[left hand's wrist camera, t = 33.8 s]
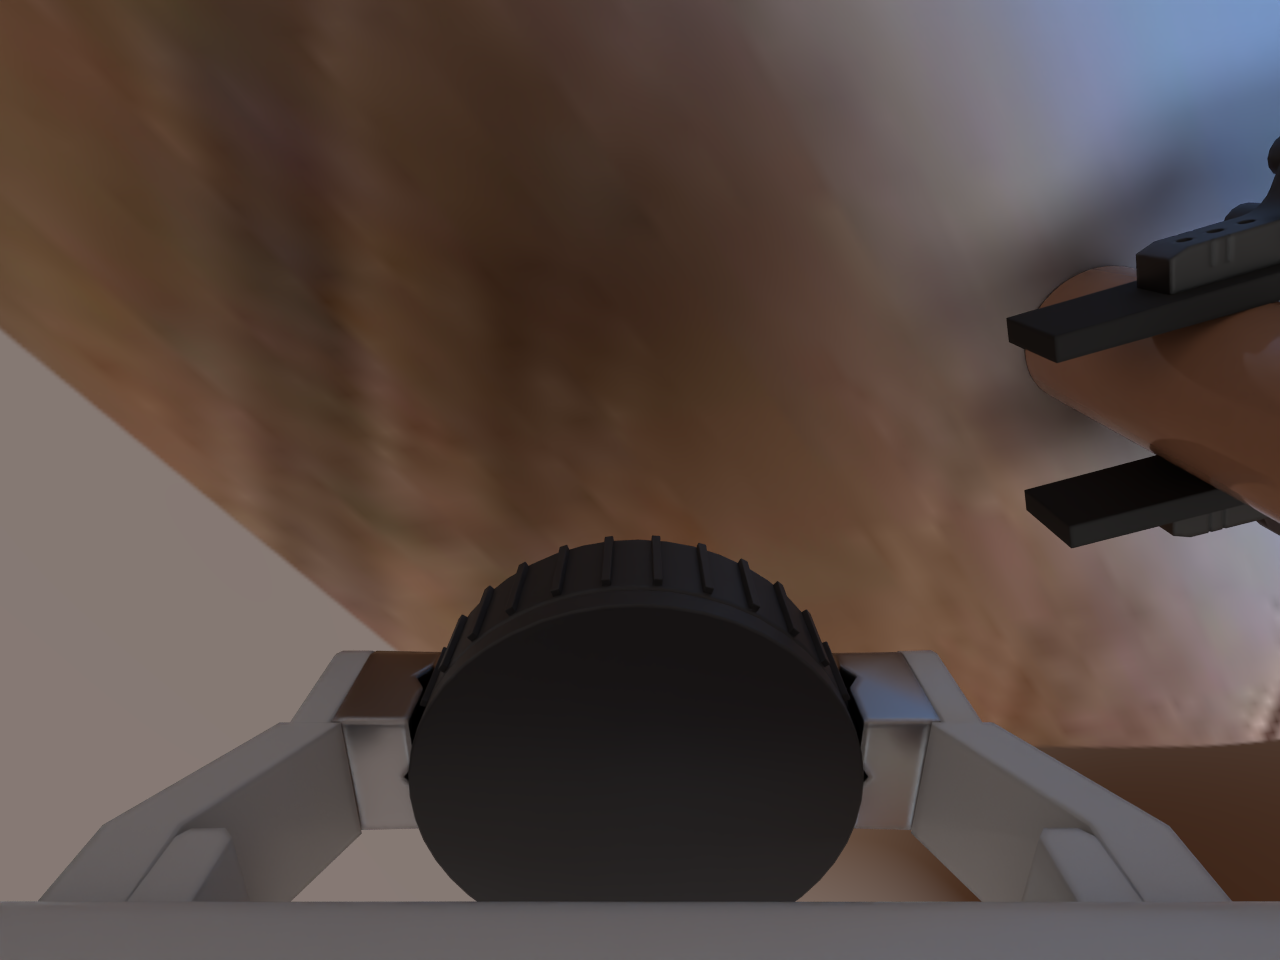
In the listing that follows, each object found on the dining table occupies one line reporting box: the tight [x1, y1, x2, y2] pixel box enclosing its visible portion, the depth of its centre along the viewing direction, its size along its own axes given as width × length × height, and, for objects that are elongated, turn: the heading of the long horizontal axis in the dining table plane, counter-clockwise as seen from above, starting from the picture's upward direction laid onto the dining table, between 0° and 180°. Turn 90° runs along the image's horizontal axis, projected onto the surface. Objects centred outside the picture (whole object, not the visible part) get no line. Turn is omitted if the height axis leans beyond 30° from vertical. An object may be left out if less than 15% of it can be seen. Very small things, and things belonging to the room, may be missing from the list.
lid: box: [408, 536, 864, 902], centre depth 10 cm, size 6×6×2 cm
